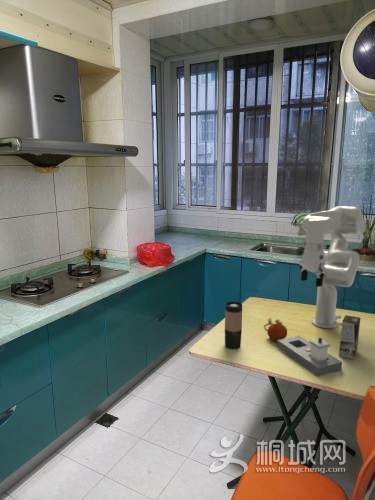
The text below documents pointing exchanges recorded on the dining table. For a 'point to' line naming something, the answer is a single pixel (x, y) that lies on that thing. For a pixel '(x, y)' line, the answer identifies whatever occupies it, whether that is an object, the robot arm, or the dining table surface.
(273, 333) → the fruit
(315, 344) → the plug
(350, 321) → the coffee box
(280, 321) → the extension cord
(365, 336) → the dining table surface
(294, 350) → the socket block
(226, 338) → the travel mug
